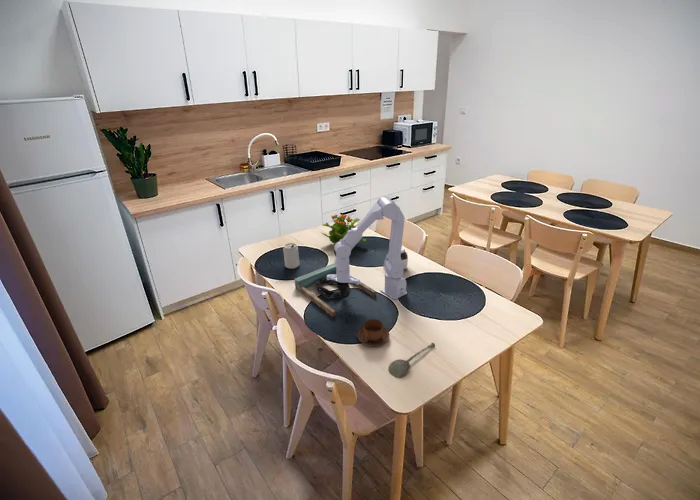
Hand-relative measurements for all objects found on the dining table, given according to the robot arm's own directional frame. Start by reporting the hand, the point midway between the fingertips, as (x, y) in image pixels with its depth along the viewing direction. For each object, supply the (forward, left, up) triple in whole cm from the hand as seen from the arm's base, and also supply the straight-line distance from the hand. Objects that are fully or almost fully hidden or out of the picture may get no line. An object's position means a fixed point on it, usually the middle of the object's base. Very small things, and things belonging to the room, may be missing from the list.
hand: (343, 295), depth 158 cm
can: (+41, +2, -2) cm, 41 cm away
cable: (+9, 0, -2) cm, 10 cm away
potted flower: (+43, -35, -2) cm, 55 cm away
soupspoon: (-45, +5, -2) cm, 46 cm away
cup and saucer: (-28, +8, -2) cm, 29 cm away
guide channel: (+7, 0, -1) cm, 7 cm away
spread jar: (+3, -35, -2) cm, 35 cm away
